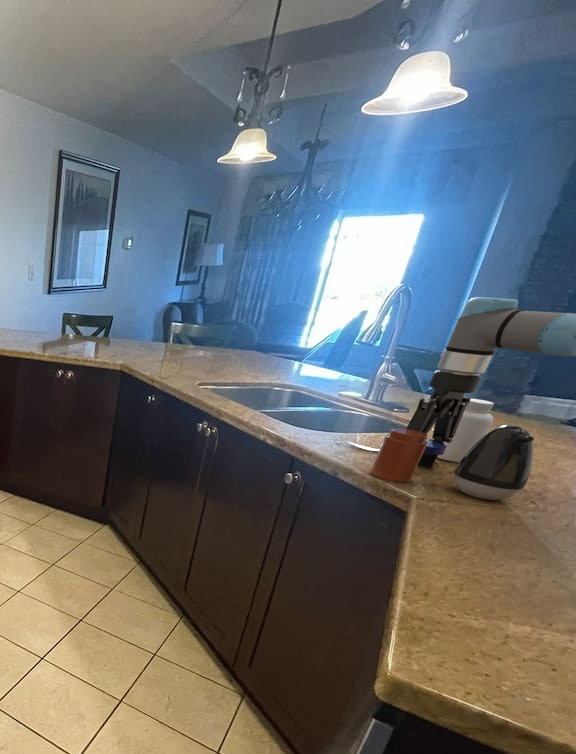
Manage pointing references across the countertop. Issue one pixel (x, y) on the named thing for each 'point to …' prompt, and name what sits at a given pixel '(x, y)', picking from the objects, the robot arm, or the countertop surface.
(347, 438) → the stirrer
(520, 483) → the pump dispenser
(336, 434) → the countertop surface
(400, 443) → the jar
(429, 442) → the lid
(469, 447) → the pill bottle
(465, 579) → the countertop surface
